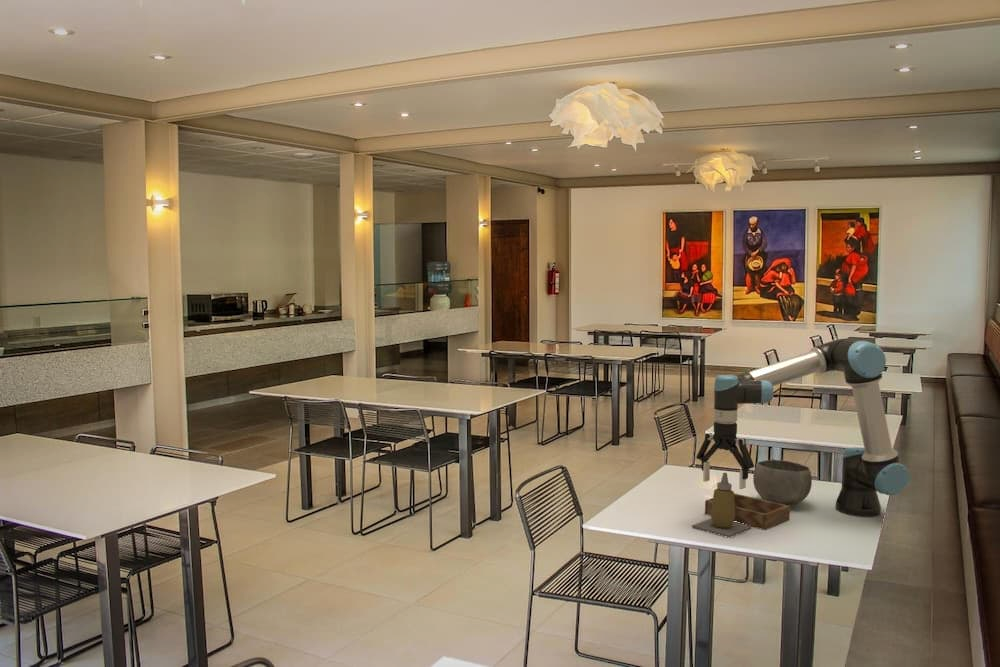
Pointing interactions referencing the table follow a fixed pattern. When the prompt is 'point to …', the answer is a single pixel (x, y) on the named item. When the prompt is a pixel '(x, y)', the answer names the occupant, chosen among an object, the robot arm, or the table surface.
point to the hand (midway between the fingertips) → (724, 484)
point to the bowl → (782, 481)
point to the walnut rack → (756, 511)
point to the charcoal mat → (728, 532)
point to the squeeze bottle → (723, 504)
